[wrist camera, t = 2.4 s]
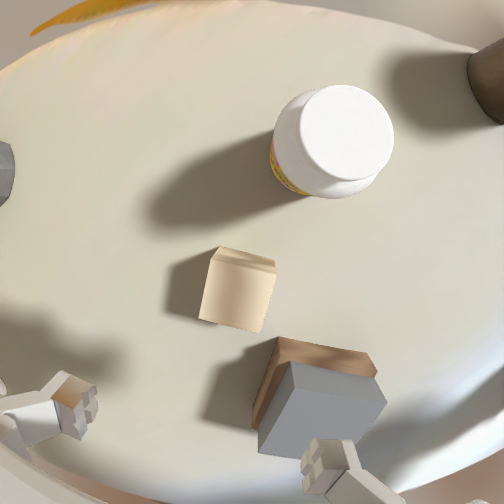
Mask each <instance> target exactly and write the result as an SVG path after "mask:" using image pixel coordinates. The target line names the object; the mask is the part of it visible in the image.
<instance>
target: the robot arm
mask: <svg viewBox="0 0 504 504" xmlns="http://www.w3.org/2000/svg"><path fill="white" fill-rule="evenodd" d="M96 394H97V390H96V386H94V385H92V384H90V383H88V382H86V381H84V380H82V379H80V378H78V377H76V376H74V375H71V374H69V373H67V372H65V371H63V370H61V371H59V372H58V373H57V374H56V375H55V376H54V377H53V378H52V379H51V380H50V381H49V382H48V383H47V384H46V385H45V386H44V387H43V388H42V389H41V390H40V391H37V390H35V391H31V392H26V393H21V394H17V395H12V396H7V397H2V398H0V504H109V503H106V502H103V501H101V500H99V499H97V498H95V497H92V496H90V495H88V494H86V493H84V492H81V491H80V490H78V489H75V488H74V487H72V486H70V485H68V484H66V483H64V482H62V481H60V480H59V479H57V478H55V477H53V476H51V475H50V474H48V473H46V472H45V471H43V470H41V469H40V468H38V467H37V466H35V465H33V464H32V463H31V462H32V457H31V455H30V453H29V451H28V449H27V447H30V446H32V445H34V444H37V443H39V442H42V441H44V440H46V439H49V438H51V437H53V436H55V435H58V434H60V433H61V432H63V433H65V434H67V435H69V436H71V437H74V438H76V439H78V440H80V441H81V439H82V437H83V436H84V434H85V433H86V431H87V424H89V423H92V422H93V420H94V419H95V417H96V414H97V411H98V401H97V400H96V398H95V397H94V396H95V395H96ZM309 445H310V449H309V450H307V451H305V453H304V454H303V456H302V459H301V466H300V468H301V473H302V474H303V475H304V476H305V478H304V479H303V481H302V484H303V492H304V494H314V495H324V496H325V497H326V498H327V499H328V500H329V502H330V503H331V504H406V502H405V500H404V499H403V498H402V497H400V496H399V495H398V494H396V493H395V492H394V491H392V490H391V489H390V488H388V487H387V486H386V485H384V484H383V483H382V482H381V481H379V480H378V479H377V478H376V477H374V476H373V475H372V474H371V473H369V472H368V471H367V470H366V469H365V470H362V467H361V464H360V461H359V458H358V455H357V452H356V449H355V446H354V443H353V441H352V440H338V439H316V438H314V439H313V440H312V441H311V443H310V444H309ZM467 504H489V503H487V502H485V501H483V500H475V501H471V502H469V503H467Z"/></svg>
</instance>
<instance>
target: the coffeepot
mask: <svg viewBox="0 0 504 504" xmlns="http://www.w3.org/2000/svg"><path fill="white" fill-rule="evenodd" d="M14 175H15V161H14V155H13V152H12V150H11V147H10V144H7V143H5V142H2V141H0V206H1V205H2V204H3V203H4V202H5V201H6V200H7V198H8V197H9V195H10V192H11V189H12V186H13V181H14Z"/></svg>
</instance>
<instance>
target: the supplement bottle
mask: <svg viewBox="0 0 504 504" xmlns="http://www.w3.org/2000/svg"><path fill="white" fill-rule="evenodd" d="M393 144H394V133H393V127H392V124H391V120H390V118H389V116H388V114H387V112H386V110H385V109H384V108H383V106H382V105H381V104H380V103H379V102H378V101H377V99H375V98H374V97H373V96H372V95H370V94H369V93H367V92H366V91H364V90H362V89H359V88H357V87H353V86H348V85H332V86H328V87H325V88H320V89H314V90H310V91H307V92H305V93H302V94H300V95H298V96H297V97H295V98H294V99H293V100H291V101H290V102H289V103H288V104H287V105H286V106H285V107H284V109H283V110H282V112H281V113H280V115H279V117H278V119H277V122H276V125H275V129H274V133H273V137H272V141H271V145H270V151H269V160H270V165H271V168H272V171H273V173H274V175H275V176H276V178H277V179H278V180H279V181H280V183H281V184H283V185H284V186H285V187H286V188H288V189H290V190H291V191H293V192H296V193H299V194H303V195H309V196H315V197H320V198H327V199H339V198H345V197H348V196H351V195H354V194H356V193H358V192H360V191H362V190H363V189H365V188H366V187H367V186H368V185H369V184H370V183H371V182H372V181H373V180H374V179H375V177H376V176H377V174H378V172H379V171H380V170H381V169H382V168H383V167H384V165H385V164H386V163H387V161H388V159H389V158H390V155H391V152H392V149H393Z"/></svg>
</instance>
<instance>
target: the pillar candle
mask: <svg viewBox="0 0 504 504" xmlns="http://www.w3.org/2000/svg"><path fill="white" fill-rule="evenodd" d="M467 71H468V76H469V80H470V84H471V87H472V90H473V93H474V95H475V97H476V98H477V101H478V102H479V104H480V105H481V107H482V108H483V110H484V111H485V112H486V113H487V114H488V115H489V117H491V118H492V119H493V120H494V121H496V122H497V123H499V124H504V38H503V39H500V40H498V41H496V42H495V43H493V44H491V45H490V46H487V47H486V48H484V49H482V50H480V51H479V52H477V53H475V54H474V55H472V56H471V57H470V58H469V60H468V66H467Z"/></svg>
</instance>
